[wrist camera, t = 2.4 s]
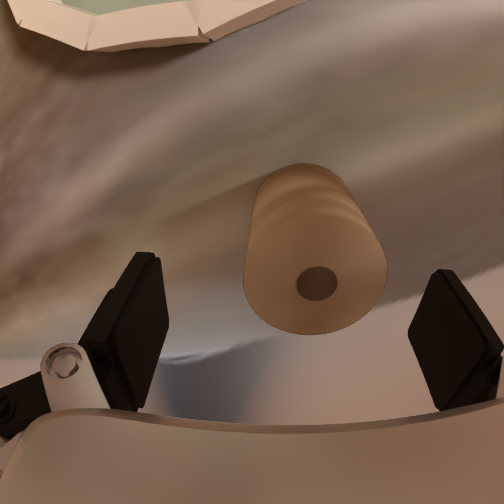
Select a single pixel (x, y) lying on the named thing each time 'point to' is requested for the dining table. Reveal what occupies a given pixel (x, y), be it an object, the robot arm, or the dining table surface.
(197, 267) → the dining table surface
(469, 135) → the dining table surface
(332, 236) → the maple bead
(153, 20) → the round tray
